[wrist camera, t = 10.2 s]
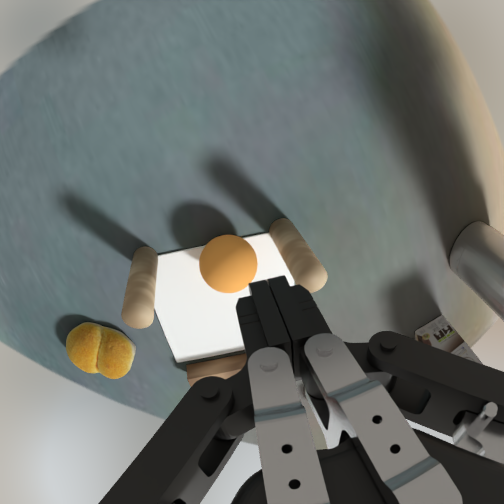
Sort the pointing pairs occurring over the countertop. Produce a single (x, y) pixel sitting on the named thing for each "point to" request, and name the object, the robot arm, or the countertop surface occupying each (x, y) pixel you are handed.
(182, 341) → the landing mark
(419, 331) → the coffee box
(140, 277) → the post
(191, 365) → the stopper rail
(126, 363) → the bread roll
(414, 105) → the countertop surface
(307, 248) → the post
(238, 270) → the ball
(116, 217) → the countertop surface
